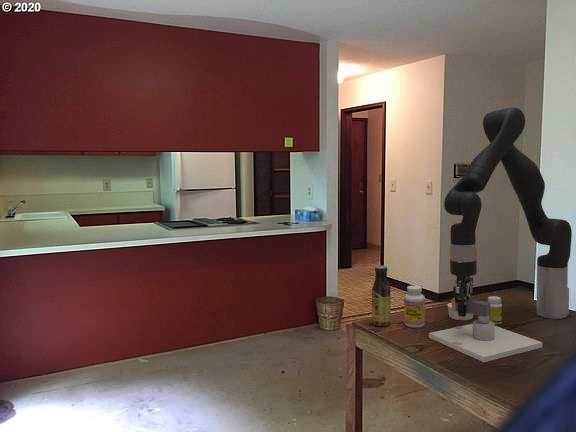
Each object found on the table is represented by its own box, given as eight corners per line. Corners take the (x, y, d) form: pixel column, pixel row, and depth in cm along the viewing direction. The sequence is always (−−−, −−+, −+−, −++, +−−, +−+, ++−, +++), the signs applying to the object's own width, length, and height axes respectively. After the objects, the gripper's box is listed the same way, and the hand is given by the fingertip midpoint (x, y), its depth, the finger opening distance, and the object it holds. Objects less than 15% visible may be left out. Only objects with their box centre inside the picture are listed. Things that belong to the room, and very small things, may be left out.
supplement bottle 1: (402, 327, 162) (402, 289, 161) (406, 321, 168) (405, 284, 167) (423, 329, 160) (423, 290, 159) (426, 322, 166) (425, 285, 165)
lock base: (483, 326, 160) (483, 308, 160) (542, 347, 140) (542, 327, 140) (429, 337, 152) (428, 318, 151) (483, 362, 132) (483, 340, 131)
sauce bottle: (370, 322, 169) (368, 265, 167) (388, 320, 170) (386, 264, 168) (375, 328, 163) (373, 268, 161) (393, 326, 163) (392, 267, 161)
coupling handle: (490, 321, 145) (490, 302, 145) (486, 324, 143) (486, 304, 143) (456, 315, 153) (455, 297, 152) (451, 317, 150) (451, 299, 150)
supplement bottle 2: (503, 324, 161) (503, 299, 160) (488, 324, 162) (488, 299, 161) (500, 320, 166) (500, 295, 165) (485, 320, 166) (485, 295, 166)
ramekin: (456, 322, 166) (456, 309, 165) (442, 315, 174) (442, 303, 174) (480, 319, 168) (480, 307, 167) (464, 312, 176) (464, 300, 176)
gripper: (456, 253, 155) (457, 306, 157) (443, 262, 144) (444, 319, 145) (481, 254, 151) (482, 309, 153) (470, 264, 139) (470, 323, 141)
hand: (463, 314), depth 149 cm, fingers closed on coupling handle, 3 cm apart
